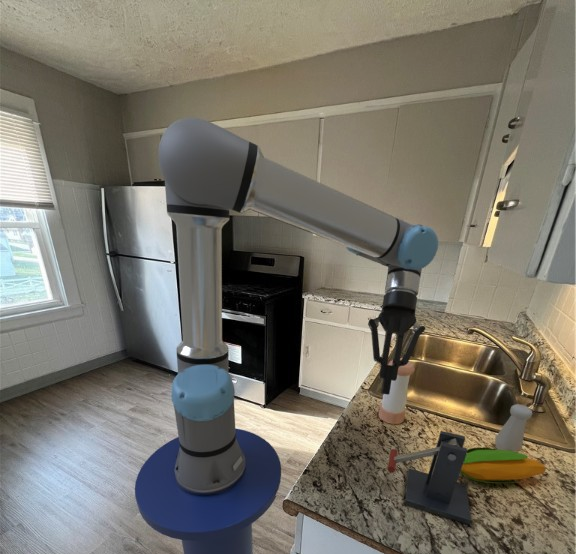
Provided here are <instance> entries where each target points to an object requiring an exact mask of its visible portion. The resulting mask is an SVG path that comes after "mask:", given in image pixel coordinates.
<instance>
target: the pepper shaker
mask: <svg viewBox="0 0 576 554" xmlns="http://www.w3.org/2000/svg"><path fill="white" fill-rule="evenodd" d="M402 358H403V357H400V360H402ZM392 363H393V359H392V360H390V361H388V363H387V365H391V366H392ZM413 373H415V365H414V364H413V362H411V361H410V360H409V361H408V364H406V365H405V366H400V367H399V368H398V374H397V379H396V380H395V381H391V387H390V393H389V394H388V395H387V394H382V401H381V402H380V405H379V409H378V417H379V419H380V420H381V421H383V422H385V423H387V424H389V425H400V424H402V423H403V422H404V421H405V415H406V412H407V411H406V410H407V409H406V405H407V402H408V389H409V388H408V387H409V384H410V383H409V382H410V378H411V375H413Z"/></svg>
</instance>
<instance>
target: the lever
mask: <svg viewBox="0 0 576 554" xmlns="http://www.w3.org/2000/svg"><path fill="white" fill-rule="evenodd" d="M441 442H442V443H446V444H450V445H454V446H458V447H460V446H459V444H458V442H457V440H456V438H454V439H450V440H446V441H441ZM439 448H440V447H436V446H435V447H432V448H431V447H430V448H427V449H422V450H419V451H418V450H417V451H414V452H409V453H405V454H400V455H398V454H399V451H398V450H397V449H395V448H391V449H390V452H389V457H388V463H387V464H388V465H387V467H386V468H387V472H389V473H395V472H396V469H397V468H396V467H397V464H399V463H404V462H409V461H413V460H419V459H424V458H428V457H433V455H438V452H439Z"/></svg>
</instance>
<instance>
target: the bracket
mask: <svg viewBox="0 0 576 554" xmlns="http://www.w3.org/2000/svg"><path fill="white" fill-rule="evenodd" d="M454 438H456V440H457V442H458V444H459V446H460V447H458V446H454V445H450V444H446V443H442V442H441V441H446V440H450V439H454ZM465 441H466V436H465V435H460V434H456V433H453V432H448V431H443V430H440V432H439V435H438V439H437V441H436V446H435V448H436V447H440V448H439V452H438V455H433V456H432V459H431V463H430V466H429V469H428V473H427V472H424V471H421V470H418V469H417V470H416V469H413V468H410V467H409V468H407V474H406V486H405V497H404V505H405V506H409V507H412V508H415V509H418V510H421V511H424V512H427V513H431V514H434V515H436V516H440V517H443V518H447V519H449V520H453V521H456V522H459V523H462V524H465V525H468V526H470V525H471V523H472V516H471V509H470V501H469V494H468V487H467V486H468V485H467V483H464V482H460V481H458V480H459V477H460V474H461V473H460V471H461V468H462V465H463V463H464V460H465V457H466V454H467V450H468V448H466V447H464V444H465Z"/></svg>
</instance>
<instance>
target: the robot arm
mask: <svg viewBox="0 0 576 554" xmlns="http://www.w3.org/2000/svg"><path fill="white" fill-rule="evenodd" d="M157 152H158V153H157V155H158V157H157V158H158V165H159V169H160V172H161V175H162V177H163V179H164V187H165V202H166V214H167V216H168V217H169V218H170V219H171V220H172V221H173V222H174V224H175V228H176V244H177V247H176V248H177V260H178V263H177V264H178V279H179V295H180V297H179V298H180V313H181V314H180V315H181V330H182V332H181V333H182V341H181V342H180V343H179V344H178V345H177V346H176V348H175V349H176V364H177V365H176V366H177V375H176V376H175V377H174V379H173V381H172V384H171V391H170V392H171V393H170V394H171V395H170V397H171V402H172V404H173V409H174V416H175V417H174V418H175V422H176V430H177V435H178V436H177V437H179V443H180V449H179V453H178V455H177V456H176V458H177V460H176V464H175V477H176V482H177V484H178V486H179V487H180V488H181V489H182V490H183V491H185V492H187V493H189V494H192V495H196V496H213V495H217V494H221V493H223V492H226V491H228V490H229V489H231V488H233V487H234V486H235V485H236V484H238V483H239V481H240V480H241V479H242V477H243V476H244V473H245V469H246V463H245V456H244V454H243V452H242V450H241V448H240V446H239V444H238V441H237V439H236V429H237V428H236V414H235V385H234V383H233V382H234V381H233V379H232V376H231V375H230V373H229V362H230V361H229V354H230V353H229V346H228V344H226V342H224V341H223V277H222V276H223V273H222V272H223V271H222V270H223V268H222V267H223V265H222V264H223V263H222V262H223V261H222V259H223V257H222V255H223V254H222V253H223V252H222V251H223V250H222V249H223V246H222V243H223V242H222V238H223V237H222V236H223V235H222V229H223V228H224V226H225V225H226V224H227V223H228V222H229V221H230V210H231V211H234V212H237V213H238V214H244V213H245V212H247V211H253V212H256V213H258V214H261V215H263V216H266V217H268V218H271V219H274V220H276V221H279V222H281V223H284V224H286V225H290V226H292V227H294V228H297V229H300V230H303V231H305V232H307V233H309V234H313V235H315V236H318V237H321V238H323V239H326V240H329V241H331V242H333V243H337V244H338V245H342V246H344V247H346V250H347V251H349V252H351V253H353V254H354V255H356V256H357V257H358V256H359V257H362V258H364V259H367V260H369V261H372V262H374V263H377V264H380V265H381V266H384V267H387V274H386V280H385V281H386V282H385V287H384V295H383V299H382V305H381V311H380V312H379V314H378V316H377V317H375V318H370V319H369V320H368V323H367V326H368V328H369V330H370V334H371V345H372V356H373V361H374V362H375V363H377V364H379V365H380V367H379V374H378V378H379V379H380V380H382V384H381V392H380V394H382V395H383V394H387V395H388V394H389V393H390V387H391V381H395V380H396V379H397V374H398V368H399V367H400V366H405V365H406V364H408V361H410V359H411V357H412V355H413V352H414V350H415V347H416V345H417V343H418V340H419V338H420V336H421V335H422V333H423V332H425V331H426V326H425V325H421V324H419V323H418V322H417V317H416V310H417V303H418V297H417V296H418V295H419V290H420V284H421V277H422V270H423V268H426V267H427V266H429V264H430V263H432V262H433V260H434V258H435V257H436V254H437V252H438V250H439V238H438V235H437V233H436V231H435V230H434V229H433V228H431V227H429V226H425V225H422V224H411V223H409V222H406V221H404V220H403V219H400V218H398V217H395V216H393V215H391V214H389V213H387V212H384V211H382V210H380V209H378V208H376V207H374V206H372V205H369V204H367V203H366V202H363V201H360V200H359V199H357V198H354V197H352V196H349V195H348V194H345V193H344V192H341V191H339V190H337V189H334V188H333V187H330V186H328V185H325V184H323V183H322V182H320V181H317V180H315V179H313V178H311V177H308V176H306V175H304V174H302V173H300V172H298V171H295V170H293V169H292V168H288V167H287V166H284V165H283V164H280V163H278V162H275V161H274V160H272V159H269V158H267V157H265V155H264V154H263V152H262V150H261V147H260V146H259V145H257V144H255V143H254V142H251V141H249V140H248V139H245V138H243V137H241V136H239V135H238V134H235V133H233V132H231V131H230V130H227V129H226V128H224V127H222V126H219V125H217V124H215V123H213V122H211V121H209V120H206V119H204V118H200V117H195V116H194V117H193V116H192V117H183V118H180V119H177V120H175V121H174V122H172V123H170V125H169V126H168V127H167V128H166V129H165V130H164V132H163V134H162V136H161V137H160V141H159V144H158V151H157ZM379 326H381V327H382V329H383V330H384V331H383V332H385V334H384V341H383V347H382V353H381V352H380V340H379V330H378V329H379ZM411 328H412V333H413V334H412V335H411V337H410V339H409V342H408V343H407V347H406V349H405V351H404V353H403V355H402V349H403V343H404V337H405V334H406V333H407V332H408V331H409V330H410V329H411ZM393 334H394V335H395V343H394V344H395V345H394V351H393V357H392V360H393V363H392V366H391V365H388V363H389V357H390V350H391V343H392V338H393V337H392V336H393ZM401 355H402V357H401ZM400 358H402V360H400ZM235 428H236V429H235Z"/></svg>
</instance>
